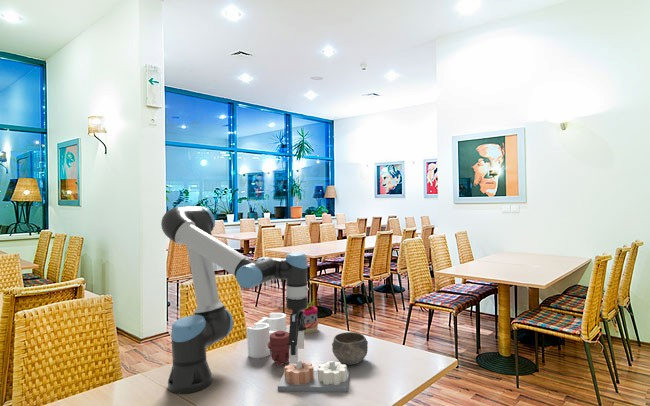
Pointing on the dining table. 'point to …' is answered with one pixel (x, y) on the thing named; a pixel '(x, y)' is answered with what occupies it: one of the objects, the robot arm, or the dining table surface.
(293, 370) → the gear
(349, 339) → the bowl
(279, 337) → the mechanical component
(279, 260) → the robot arm
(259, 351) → the white joined open cylinders
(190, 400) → the dining table surface
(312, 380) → the gear board
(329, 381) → the gear
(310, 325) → the cake
